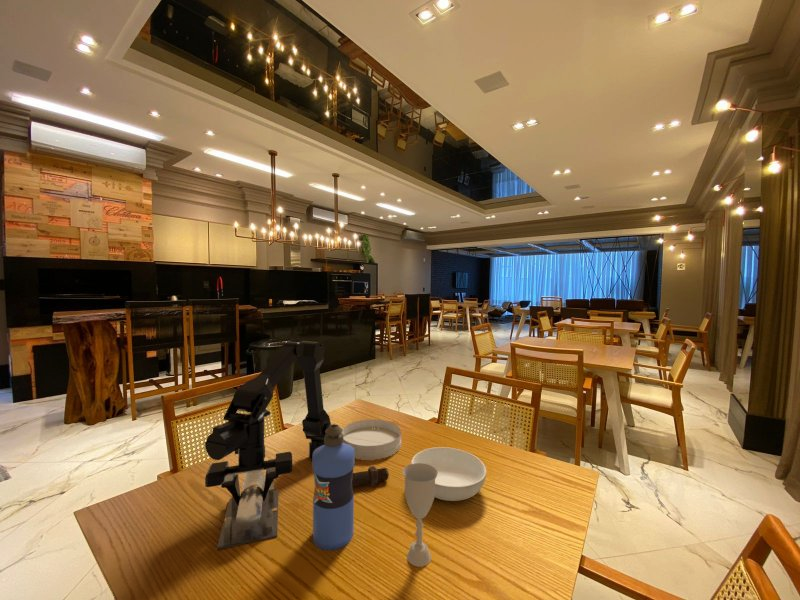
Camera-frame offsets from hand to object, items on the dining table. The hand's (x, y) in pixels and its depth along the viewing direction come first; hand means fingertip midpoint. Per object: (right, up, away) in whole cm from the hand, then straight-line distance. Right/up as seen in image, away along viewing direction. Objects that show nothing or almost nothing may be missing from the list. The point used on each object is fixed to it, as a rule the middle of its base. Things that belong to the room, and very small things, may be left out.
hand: (251, 502), depth 78 cm
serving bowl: (+50, -4, +13) cm, 51 cm away
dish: (+26, -3, +38) cm, 46 cm away
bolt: (+25, -4, +13) cm, 29 cm away
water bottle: (+21, -4, -5) cm, 22 cm away
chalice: (+40, -5, -11) cm, 42 cm away
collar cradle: (0, -4, 0) cm, 4 cm away
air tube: (0, -1, 0) cm, 1 cm away
